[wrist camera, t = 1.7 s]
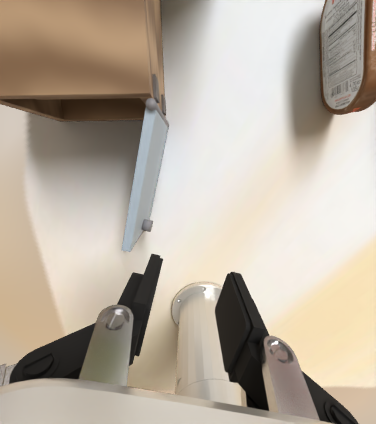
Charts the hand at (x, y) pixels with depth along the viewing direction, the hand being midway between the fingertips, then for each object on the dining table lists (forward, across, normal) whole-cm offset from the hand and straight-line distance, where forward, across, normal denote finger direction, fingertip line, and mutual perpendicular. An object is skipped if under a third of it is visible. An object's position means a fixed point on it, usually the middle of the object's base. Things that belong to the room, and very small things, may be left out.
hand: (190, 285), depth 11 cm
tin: (+22, -14, -24) cm, 35 cm away
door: (+21, +6, -3) cm, 22 cm away
